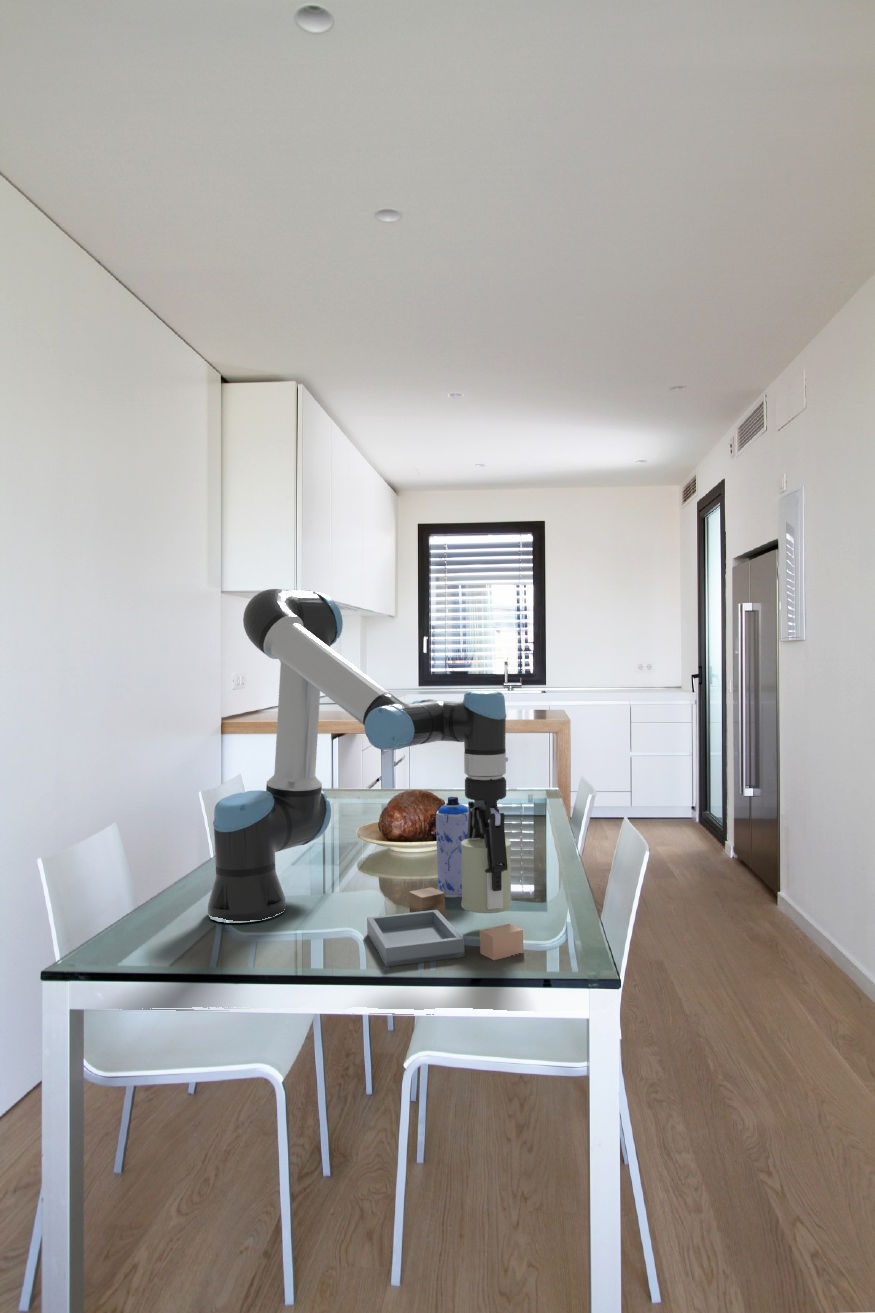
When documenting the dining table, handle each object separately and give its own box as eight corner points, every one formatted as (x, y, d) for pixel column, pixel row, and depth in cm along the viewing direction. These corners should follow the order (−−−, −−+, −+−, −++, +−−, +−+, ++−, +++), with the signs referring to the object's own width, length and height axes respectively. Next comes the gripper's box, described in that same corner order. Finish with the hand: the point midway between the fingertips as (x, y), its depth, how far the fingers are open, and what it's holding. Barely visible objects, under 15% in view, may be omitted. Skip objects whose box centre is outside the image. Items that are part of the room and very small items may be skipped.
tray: (464, 956, 142) (463, 938, 142) (386, 966, 138) (385, 948, 138) (437, 926, 158) (437, 909, 158) (367, 934, 155) (366, 917, 155)
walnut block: (422, 924, 160) (421, 897, 160) (409, 917, 164) (409, 891, 164) (445, 919, 163) (444, 893, 163) (432, 913, 167) (431, 887, 167)
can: (481, 895, 162) (480, 832, 162) (521, 904, 156) (521, 838, 156) (450, 907, 155) (450, 841, 155) (492, 917, 149) (491, 848, 149)
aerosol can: (481, 890, 182) (478, 795, 182) (461, 899, 175) (458, 801, 175) (450, 885, 186) (447, 793, 186) (430, 894, 180) (426, 799, 180)
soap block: (493, 961, 140) (492, 936, 140) (480, 954, 143) (479, 930, 143) (523, 953, 143) (522, 929, 143) (509, 947, 146) (509, 923, 146)
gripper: (526, 784, 146) (527, 916, 146) (486, 767, 167) (487, 882, 167) (484, 786, 144) (485, 920, 144) (449, 768, 165) (450, 885, 165)
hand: (486, 900), depth 156 cm, fingers closed on can, 9 cm apart
